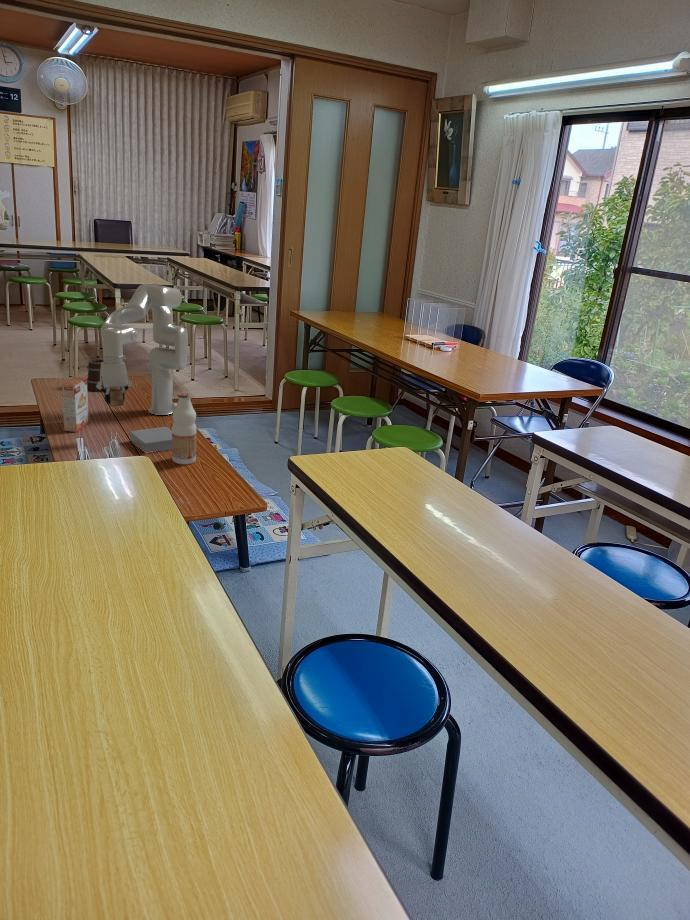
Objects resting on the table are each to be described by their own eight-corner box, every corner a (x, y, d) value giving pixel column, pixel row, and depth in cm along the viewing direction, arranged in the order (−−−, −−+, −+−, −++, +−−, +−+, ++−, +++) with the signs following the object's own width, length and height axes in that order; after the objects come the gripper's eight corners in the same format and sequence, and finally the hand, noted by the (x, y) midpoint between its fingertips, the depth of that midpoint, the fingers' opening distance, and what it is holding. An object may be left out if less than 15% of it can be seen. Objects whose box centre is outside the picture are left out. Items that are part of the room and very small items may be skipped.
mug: (90, 392, 345) (88, 364, 340) (84, 386, 354) (82, 358, 349) (121, 390, 354) (120, 362, 348) (114, 384, 363) (113, 357, 357)
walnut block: (118, 401, 284) (118, 388, 281) (123, 405, 280) (122, 391, 278) (106, 403, 281) (106, 389, 278) (111, 406, 277) (110, 392, 275)
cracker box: (77, 432, 291) (74, 385, 283) (63, 431, 291) (60, 384, 283) (89, 422, 304) (87, 377, 296) (76, 421, 304) (73, 376, 296)
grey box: (166, 437, 296) (166, 426, 295) (181, 449, 285) (181, 438, 283) (130, 442, 287) (130, 431, 285) (145, 454, 275) (145, 443, 274)
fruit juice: (176, 466, 266) (176, 397, 256) (168, 457, 274) (168, 391, 264) (199, 463, 271) (200, 396, 261) (191, 455, 278) (191, 389, 268)
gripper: (130, 355, 281) (131, 397, 288) (88, 358, 271) (91, 402, 278) (137, 360, 276) (138, 402, 282) (95, 363, 266) (97, 407, 272)
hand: (114, 401), depth 280 cm, fingers closed on walnut block, 5 cm apart
